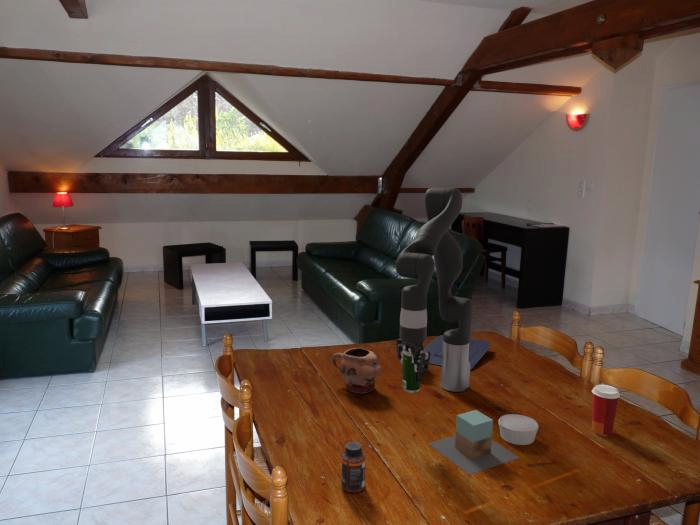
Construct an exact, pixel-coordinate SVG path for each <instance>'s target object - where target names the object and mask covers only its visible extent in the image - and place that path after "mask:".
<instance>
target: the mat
mask: <svg viewBox="0 0 700 525" xmlns="http://www.w3.org/2000/svg"><path fill="white" fill-rule="evenodd" d="M455 439H456V434H455V435H451V436H448V437H445V438H441V439H438V440H435V441H432V442H428V443H427V445H429V446H430V447H432V448H433V449H434V450H436V452H438V453H439V454H441V455H442V456H443V457H445V458H447V459H448V460H449V461H450V462H451V463H453V464H454V465H455V466H456V467H458V468H460V469H461V470H462V471H463V472H464V473H466V474H467V475H473V474H476V473H479V472H482V471H485V470H488V469H490V468H495V467H497V466H500V465H503V464H505V463H509V462H512V461H515V460H518V459H520V457H519V456H518V455H516V454H515V453H513V452H512V451H510V449H509V450H508V449H507V448H505V447H504V446H503V445H502V444H499V443H498V442H496V441H494V440H493V439H492V443H491V453H490V454H487V455H484V456H480V457H477V458H474V459H470V458H469V457H467V456H466V455H465V454H463V453H462V452H460V451H459V450H458V449H456V448H455Z"/></svg>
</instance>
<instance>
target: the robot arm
mask: <svg viewBox="0 0 700 525" xmlns="http://www.w3.org/2000/svg"><path fill="white" fill-rule="evenodd" d="M462 208H463V196H462V192H461V190H460V189H458V188H456V187H429V188H428V189H427V190H426V191H425V194H424V209H425V214H426V218H427V222H426V223H425V224H423V225H422V226H421V227H420V228H419V230H418V231H417V233H416V235H415V237H414V238H413V241H412V242H411V243H410V244H408V245H407V246H406V247H405V248H404V249H403V250H402V251H401V252H400V253H399V255H398V256H397V258H396V261H395V271H396V273H397V275H398V276H399V277H402V278H405V279H415V280H416V279H417V280H418V284H412V285H407V286H404V287H403V288H402V290H401V303H400V304H401V308H400V316H399V338H396V339H395V344H396V345H395V346H396V355H397V356H396V357H397V358H396V359H397V360H399V361H400V363H401V371H402V370H403V351H404V349H405V351H406V350H407V349H408V351H409V352H410V354H411V355H412V364H414V370H415V371H414V383H415V384H419V383H421V384H422V383H423V373H424V372H426V371H429V365H430V363H429V360H430V355H431V354H430V352H426V351H425V350H424V348H425V346H424V342H425V341H426V340H427V336H428V335H427V332H428V331H427V328H428V311H427V309H428V308H427V304H428V301H427V300H428V291H429V288H430V283H431V280H432V277H433V274H434V271H435V272H436V278H437V288H438V306H439V315H440V318H441V320H442V321H444V322H448V323H453V324H458V328H455V329H448V330H446V331H445V332H443V352H442V366H441V375H440V387H441V388H442V389H443V390H445V391H449V392H455V393H457V392H464V391H466V390H467V389H468V388H469V387H470V378H471V377H470V376H471V375H470V374H471V370H470V362H469V361H468V358H469V340H470V338H471V331H472V322H473V321H472V320H473V313H474V303H473V301H472V300H471V299H470V298H467V297H461V296H460V297H459V296H454V295H452V287H453V285H454V283H455V282H456V280H457V279H458V278H459V276H460V275H461V273H462V270H463V268H464V261H463V260H464V259H463V253H462V248H461V246H460V244H459V243H458V241H457V240H456V239H455V237H453V235H452V234H451V232H449V231H448V229H450V227H451V226H452V224H453V223H454V222H455V220H457V218H458V217H459V215H460V214H461V211H462ZM414 356H415V357H420V360H415V357H414ZM417 363H419V367H418V366H417ZM423 365H424V366H423Z"/></svg>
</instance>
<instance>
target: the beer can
mask: <svg viewBox="0 0 700 525" xmlns="http://www.w3.org/2000/svg"><path fill="white" fill-rule="evenodd" d="M414 357H415V356H414ZM415 360H420V357H415ZM417 366H418V367H419V363H417ZM414 371H415V370H414V364H412V355H411V354H410V352H409V351H408V349H407V350H406V351H405V349H404V351H403V370H402V369H401V374H402V375H401V376H402V378H401V382H402V383H401V386H402V387H401V388H402V389H403V391H404V392H407V393H410V394H411V393H417V392H419V391H420V390H421V389H422V388H421V387H422V382H421V383H419V384H415V383H414Z"/></svg>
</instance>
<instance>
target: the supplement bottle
mask: <svg viewBox="0 0 700 525" xmlns="http://www.w3.org/2000/svg"><path fill="white" fill-rule="evenodd" d="M362 447H363V445H362V444H361V443H359V442H356V441H351V442H348V443H346V444H345V450H344V452H342V455H341V487H342V490H344V491H345V492H348V493H351V494H355V493H359V492H362V491H363V490H364V489H365V487H366V454H365V452H364V451H363V448H362Z"/></svg>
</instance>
